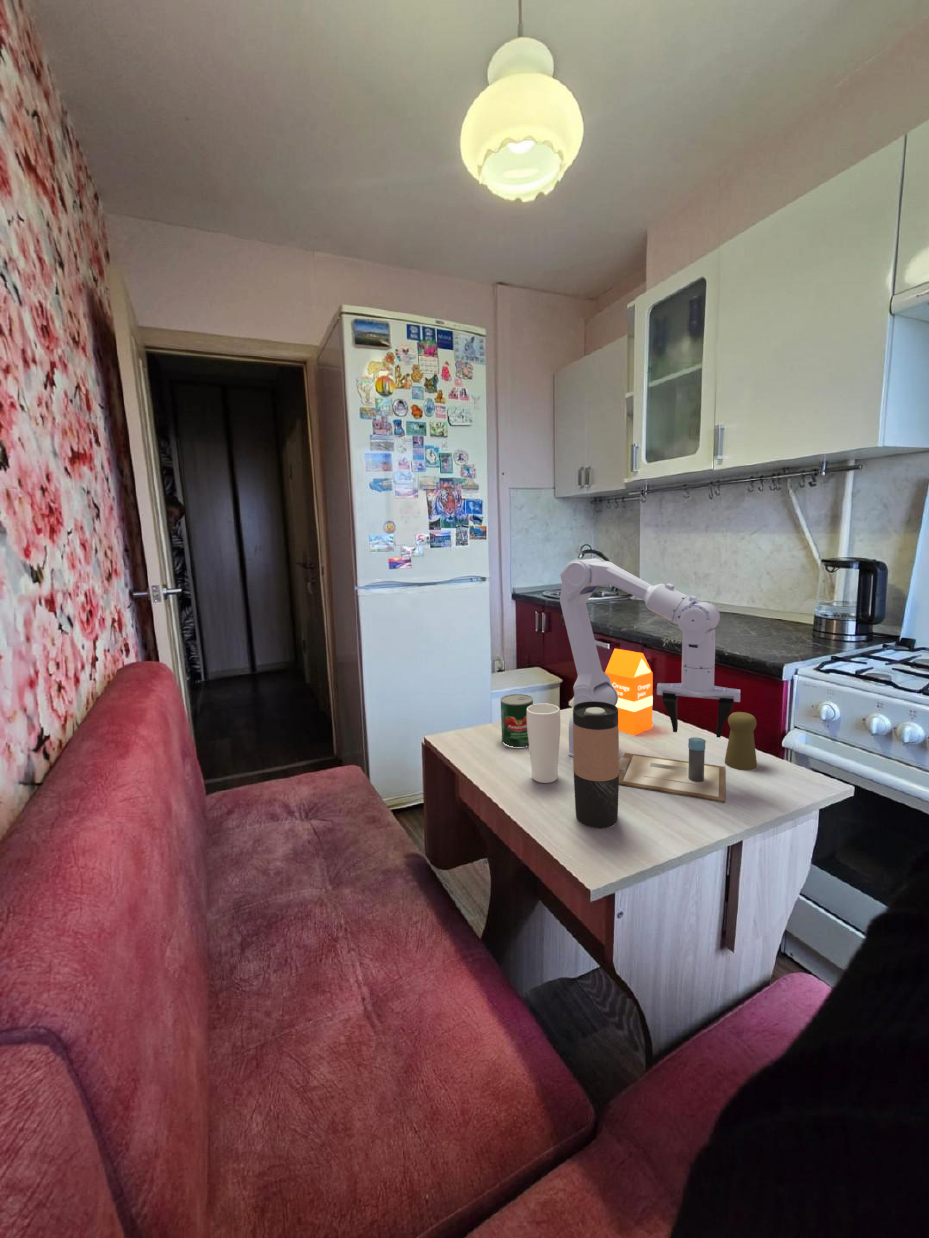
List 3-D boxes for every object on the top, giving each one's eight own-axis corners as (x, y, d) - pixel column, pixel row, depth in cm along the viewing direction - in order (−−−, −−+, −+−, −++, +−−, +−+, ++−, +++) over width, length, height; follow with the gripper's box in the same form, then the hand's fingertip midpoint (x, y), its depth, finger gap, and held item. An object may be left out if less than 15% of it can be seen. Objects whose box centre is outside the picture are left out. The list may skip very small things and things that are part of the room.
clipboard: (611, 783, 101) (611, 777, 101) (624, 754, 114) (624, 749, 114) (724, 802, 92) (724, 796, 92) (724, 768, 105) (724, 762, 105)
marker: (687, 780, 100) (688, 741, 98) (688, 774, 102) (689, 736, 101) (704, 783, 98) (705, 744, 97) (704, 776, 101) (705, 738, 100)
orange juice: (623, 719, 136) (623, 646, 133) (652, 727, 129) (653, 650, 126) (604, 726, 132) (604, 650, 129) (633, 735, 125) (634, 656, 122)
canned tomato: (513, 751, 119) (511, 706, 117) (495, 740, 126) (494, 697, 124) (540, 743, 123) (539, 699, 121) (522, 733, 129) (521, 692, 128)
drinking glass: (549, 789, 100) (547, 716, 98) (521, 779, 105) (519, 709, 102) (567, 776, 105) (566, 706, 103) (540, 768, 109) (538, 701, 107)
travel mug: (617, 807, 92) (617, 701, 89) (620, 831, 85) (620, 716, 82) (574, 804, 94) (572, 700, 91) (573, 827, 86) (571, 714, 83)
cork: (761, 770, 103) (763, 719, 102) (729, 769, 104) (731, 718, 103) (751, 758, 109) (753, 709, 107) (720, 757, 110) (722, 708, 109)
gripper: (655, 667, 97) (654, 735, 99) (741, 673, 90) (739, 745, 92) (659, 659, 103) (658, 723, 105) (740, 664, 96) (738, 732, 98)
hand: (696, 733), depth 99 cm, fingers open, 7 cm apart
